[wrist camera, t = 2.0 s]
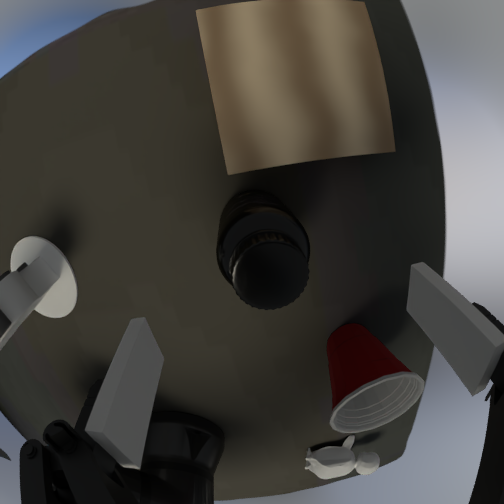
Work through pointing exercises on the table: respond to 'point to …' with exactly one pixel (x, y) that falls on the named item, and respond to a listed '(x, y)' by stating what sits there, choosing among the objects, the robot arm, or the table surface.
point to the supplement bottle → (262, 250)
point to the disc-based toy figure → (35, 285)
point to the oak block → (295, 82)
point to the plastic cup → (367, 381)
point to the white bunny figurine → (340, 461)
